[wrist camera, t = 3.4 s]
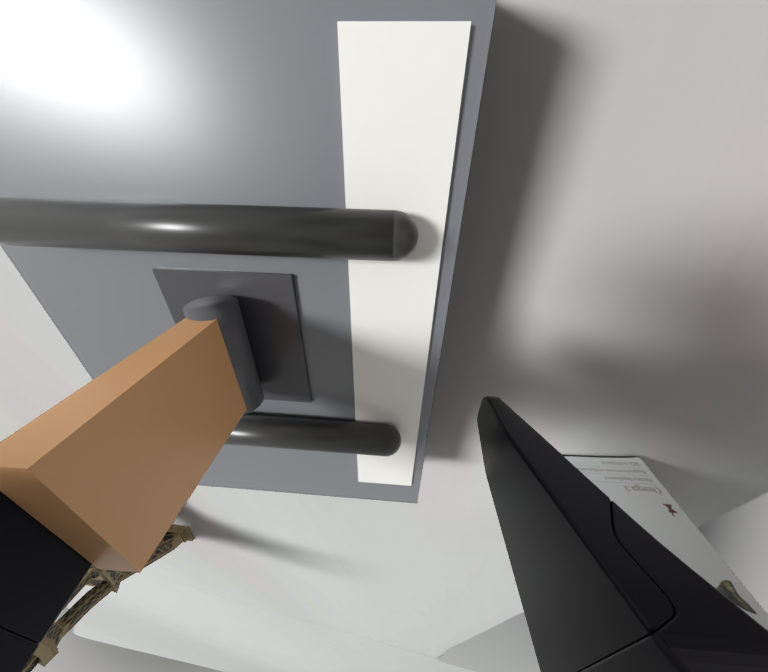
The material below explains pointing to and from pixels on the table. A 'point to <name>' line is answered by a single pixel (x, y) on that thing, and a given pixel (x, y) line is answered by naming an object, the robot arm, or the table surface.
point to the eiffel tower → (98, 595)
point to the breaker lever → (136, 438)
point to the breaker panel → (253, 204)
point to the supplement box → (666, 523)
